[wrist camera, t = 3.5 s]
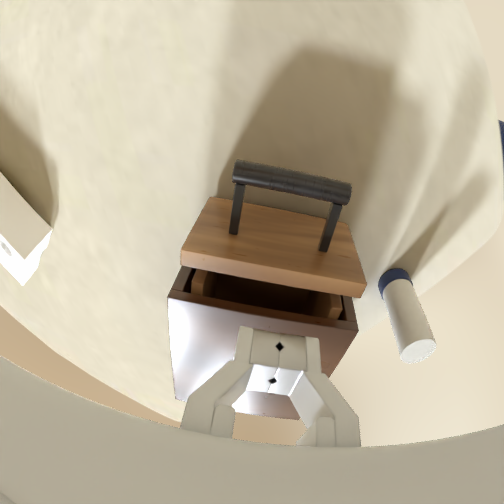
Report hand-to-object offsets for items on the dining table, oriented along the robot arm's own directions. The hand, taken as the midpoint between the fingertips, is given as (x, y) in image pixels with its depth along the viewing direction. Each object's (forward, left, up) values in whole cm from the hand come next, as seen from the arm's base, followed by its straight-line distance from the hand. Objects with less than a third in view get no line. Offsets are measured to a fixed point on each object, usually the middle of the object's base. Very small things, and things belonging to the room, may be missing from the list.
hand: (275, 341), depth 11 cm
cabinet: (0, +12, -15) cm, 19 cm away
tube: (-13, +7, -15) cm, 21 cm away
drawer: (0, +6, -14) cm, 15 cm away
